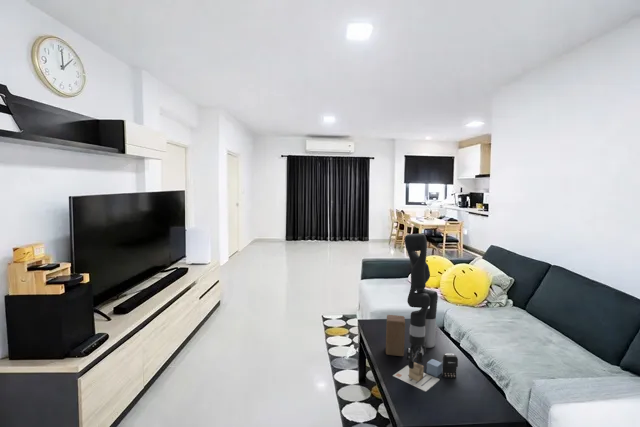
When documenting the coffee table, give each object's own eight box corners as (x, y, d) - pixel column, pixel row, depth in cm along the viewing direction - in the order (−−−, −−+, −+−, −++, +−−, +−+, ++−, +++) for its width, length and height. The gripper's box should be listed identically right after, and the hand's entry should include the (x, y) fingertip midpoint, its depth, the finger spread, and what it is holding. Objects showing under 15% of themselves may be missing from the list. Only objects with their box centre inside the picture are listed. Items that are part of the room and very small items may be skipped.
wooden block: (403, 357, 191) (405, 322, 189) (385, 355, 192) (386, 320, 191) (403, 348, 200) (404, 315, 199) (385, 347, 202) (386, 313, 201)
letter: (407, 365, 182) (407, 365, 182) (439, 379, 169) (439, 379, 169) (392, 375, 172) (392, 375, 172) (425, 391, 159) (425, 391, 159)
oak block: (414, 373, 174) (414, 362, 173) (423, 377, 170) (423, 365, 170) (408, 377, 170) (409, 365, 170) (418, 381, 167) (418, 369, 166)
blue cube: (431, 368, 179) (432, 358, 179) (441, 373, 175) (442, 362, 175) (426, 372, 175) (426, 362, 175) (436, 377, 171) (437, 366, 171)
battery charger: (443, 379, 170) (444, 356, 169) (441, 374, 174) (442, 353, 173) (458, 379, 170) (459, 357, 168) (455, 375, 173) (456, 353, 172)
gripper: (417, 326, 176) (416, 357, 177) (402, 334, 166) (401, 367, 167) (431, 331, 171) (429, 363, 172) (416, 339, 161) (414, 373, 162)
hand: (415, 365), depth 170 cm, fingers open, 8 cm apart
